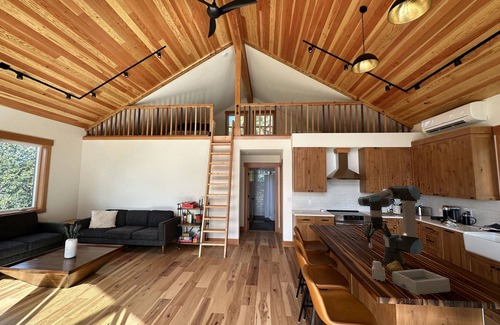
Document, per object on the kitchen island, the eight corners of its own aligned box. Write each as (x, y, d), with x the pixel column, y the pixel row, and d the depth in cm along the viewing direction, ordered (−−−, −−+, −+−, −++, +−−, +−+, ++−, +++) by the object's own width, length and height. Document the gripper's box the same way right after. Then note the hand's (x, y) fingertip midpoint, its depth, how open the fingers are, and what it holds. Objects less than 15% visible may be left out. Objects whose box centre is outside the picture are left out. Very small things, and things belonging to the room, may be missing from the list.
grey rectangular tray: (390, 283, 141) (389, 271, 142) (423, 279, 145) (421, 268, 146) (414, 295, 124) (413, 282, 125) (450, 291, 129) (448, 278, 129)
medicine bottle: (374, 275, 153) (372, 258, 154) (385, 278, 148) (384, 260, 150) (372, 279, 147) (370, 261, 149) (384, 282, 143) (382, 263, 144)
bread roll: (407, 277, 149) (406, 265, 150) (391, 276, 151) (390, 264, 152) (399, 270, 161) (398, 259, 162) (385, 269, 164) (384, 259, 165)
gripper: (364, 217, 146) (367, 249, 144) (395, 216, 151) (398, 247, 148) (357, 216, 154) (359, 246, 151) (387, 215, 158) (389, 244, 156)
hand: (379, 247), depth 150 cm, fingers open, 13 cm apart
